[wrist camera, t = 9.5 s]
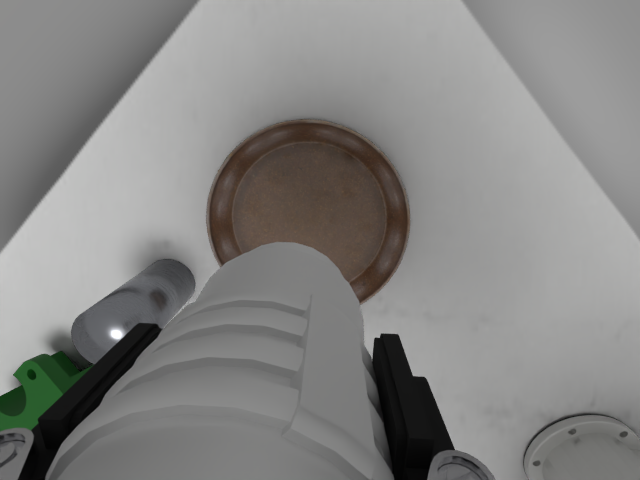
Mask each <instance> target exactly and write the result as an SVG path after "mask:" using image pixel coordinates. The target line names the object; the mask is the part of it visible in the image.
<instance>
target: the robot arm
mask: <svg viewBox="0 0 640 480" xmlns="http://www.w3.org/2000/svg"><path fill="white" fill-rule="evenodd" d="M161 331H162V328H159V325H158V324H156V323H138V324H137V325H135V326H134V327H133V328H132V329H131V330H130V331H129V332H128V333H127V334H126V335H125V336H124V337H123V338H122V339H121V340H120V341H119V342H118V343H117V344H115V345H114V346H113V347H112V348H111V349H110V350H109V351H108V352H107V353H106V354H105V355H104V356H103V357H102V358H101V359H100V360H99V361H98V362H97V363H96V364H95V365H93V366H92V367H91V368H90V369H89V370H88V371H87V372H86V373H85V374H84V375H83V376H82V377H81V378H80V379H79V380H78V381H77V382H76V383H75V384H74V385H73V386H71V387H70V388H69V389H68V390H67V391H66V392H65V393H64V394H63V395H62V396H61V397H60V398H59V399H58V400H57V401H56V402H55V403H54V404H53V405H52V406H51V407H49V408H48V409H47V410H46V411H45V412H44V413H43V414H42V415H41V416H40V417H39V418H38V424H37V425H36V426H35V427H34V428H33V429H32V430H28V429H26V428H12V429H6V430H3V431H0V480H45V478H46V474H47V472H48V470H49V468H50V466H51V464H52V462H53V460H54V458H55V456H56V454H57V452H58V450H59V448H60V446H61V444H62V443H63V442H64V440H65V439H66V438H67V437H68V436H69V435H70V434H71V433H72V431H73V430H74V429H75V428H76V427H77V426H78V425H79V424H80V423H81V422H82V421H83V420H84V419H86V418H87V417H88V416H89V415H90V414H91V413H92V412H93V411H94V410H95V409H96V408H97V407H99V406H100V404H101V402H102V400H103V398H104V396H105V394H106V393H107V392H108V391H109V389H110V388H111V387H112V386H113V385H114V384H115V383H116V382H117V381H118V380H119V379H120V378H121V377H122V376H123V375H124V374H125V373H126V372H127V371H128V370H130V369H131V368H132V367H133V365H134V363H135V361H136V359H137V358H138V357H139V356H140V354H141V353H142V352H143V351H144V350H145V349H146V348H147V347H148V346H149V345H150V344H151V343H152V342H153V341H154V340H155V339H157V337H158V336H159V334H160V332H161ZM372 364H373V368H374V373H375V377H376V382H377V387H378V395H379V400H380V404H381V409H382V413H383V419H384V428H385V432H386V437H387V441H388V446H389V450H390V455H391V460H392V466H393V471H392V474H393V476H394V480H495V478H494V476H493V475H492V473H491V472H490V471H489V470H488V468H487V467H486V466H485V465H484V464H482V463H481V462H480V461H479V460H478V459H476V458H474V457H473V456H471V455H469V454H467V453H464V452H461V451H457V450H455V449H454V446H453V444H452V441H451V439H450V436H449V434H448V431H447V429H446V426H445V424H444V421H443V419H442V416H441V414H440V411H439V409H438V406H437V404H436V401H435V399H434V396H433V394H432V391H431V389H430V386H429V384H428V382H427V380H426V378H425V377H416V376H413V375H412V372H411V369H410V367H409V364H408V361H407V358H406V355H405V352H404V349H403V346H402V343H401V341H400V338H399V335H398V334H381V336H380V338H375V339H374V348H373V359H372ZM524 469H525V473H526V475H527V477H528V480H640V439H639V438H638V436H637V435H636V434H635V433H634V432H633V431H632V430H631V429H630V428H629V427H628V426H626V425H625V424H623V423H622V422H620V421H618V420H615V419H613V418H610V417H605V416H599V415H584V416H576V417H572V418H568V419H565V420H562V421H560V422H557V423H555V424H553V425H552V426H550V427H548V428H546V429H545V430H544V431H543V432H541V433H540V434H539V435H538V436H537V437H536V438H535V439H534V440H533V441H532V443H531V444H530V446H529V448H528V449H527V452H526V455H525V459H524Z"/></svg>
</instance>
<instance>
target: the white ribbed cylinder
mask: <svg viewBox="0 0 640 480" xmlns="http://www.w3.org/2000/svg"><path fill="white" fill-rule="evenodd" d="M392 471H393V466H392V460H391V455H390V450H389V446H388V441H387V437H386V432H385V428H384V419H383V413H382V409H381V404H380V400H379V395H378V387H377V382H376V377H375V373H374V368H373V364H372V359H371V356H370V354H369V353H368V351H367V349H366V347H365V346H364V323H363V317H362V312H361V308H360V303H359V300H358V299H357V297H356V295H355V293H354V291H353V289H352V288H351V286H350V284H349V283H348V282H347V281H346V280H345V279H344V277H343V275H342V274H341V272H340V270H339V268H338V267H337V266H336V265H335V264H334V263H333V262H332V261H331V260H330V259H329V258H328V257H327V256H325V255H324V254H322V253H320V252H319V251H317V250H315V249H314V248H312V247H308V246H305V245H302V244H298V243H292V242H275V243H270V244H266V245H261V246H259V247H257V248H255V249H253V250H251V251H249V252H247V253H244V254H242V255H240V256H238V257H236V258H234V259H232V260H230V261H228V262H226V263H225V264H224V265H223V266H222V267H221V268H220V269H219V270H218V271H217V272H216V273H214V274H213V275H212V276H211V277H210V279H209V280H208V282H207V284H206V285H205V287H204V288H203V290H202V291H201V293H200V295H199V296H198V298H197V299H196V301H195V302H193V303H191V304H189V305H187V306H186V307H185V308H184V309H183V310H182V311H181V312H180V313H179V314H178V315H176V316H175V317H174V318H173V319H172V320H171V321H170V322H169V323H168V324H167V325H166V326H165V327H164V328H163V329H162V331H161V332H160V334H159V336H158V337H157V339H155V340H154V341H153V342H152V343H151V344H150V345H149V346H148V347H147V348H146V349H145V350H144V351H143V352H142V353H141V354H140V356H139V357H138V358H137V359H136V361H135V363H134V365H133V367H132V368H131V369H130V370H128V371H127V372H126V373H125V374H124V375H123V376H122V377H121V378H120V379H119V380H118V381H117V382H116V383H115V384H114V385H113V386H112V387H111V388H110V389H109V391H108V392H107V393H106V394H105V396H104V398H103V400H102V402H101V404H100V406H99V407H97V408H96V409H95V410H94V411H93V412H92V413H91V414H90V415H89V416H88V417H87V418H86V419H84V420H83V421H82V422H81V423H80V424H79V425H78V426H77V427H76V428H75V429H74V430H73V431H72V433H71V434H70V435H69V436H68V437H67V438H66V439H65V440H64V442H63V443H62V444H61V446H60V448H59V450H58V452H57V454H56V456H55V458H54V460H53V462H52V464H51V466H50V468H49V470H48V472H47V474H46V478H45V480H394V476H393V474H392Z"/></svg>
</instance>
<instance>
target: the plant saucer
mask: <svg viewBox="0 0 640 480" xmlns="http://www.w3.org/2000/svg"><path fill="white" fill-rule="evenodd" d="M206 224H207V232H208V237H209V242H210V245H211V249H212V251H213V254H214V256H215V259H216V260H217V262H218V264H219V266H220V268H221V267H222V266H223V265H224V264H225V263H226V262H228V261H230V260H232V259H234V258H236V257H238V256H240V255H242V254H244V253H247V252H249V251H251V250H253V249H255V248H257V247H259V246H261V245H266V244H270V243H275V242H292V243H298V244H302V245H305V246H308V247H312V248H314V249H315V250H317V251H319V252H320V253H322V254H324V255H325V256H327V257H328V258H329V259H330V260H331V261H332V262H333V263H334V264H335V265H336V266H337V267H338V268H339V270H340V272H341V274H342V275H343V277H344V279H345V280H346V281H347V282H348V283H349V284H350V286H351V288H352V289H353V291H354V293H355V295H356V297H357V299H358V300H359V303H360V305H361V304H363V303H364V302H366V301H367V300H369V299H370V298H372V297H373V296H374V295H375V294H377V293H378V292H379V291H380V290H381V289H382V288H383V287H384V286H385V285H386V284H387V282H388V281H389V280H390V279H391V277H392V276H393V274H394V273H395V272H396V270H397V268H398V266H399V264H400V262H401V260H402V258H403V255H404V253H405V250H406V246H407V243H408V238H409V231H410V210H409V203H408V198H407V194H406V191H405V188H404V185H403V183H402V180H401V178H400V176H399V174H398V172H397V171H396V169H395V167H394V166H393V164H392V163H391V162H390V160H389V159H388V158H387V156H386V155H385V154H384V153H383V152H382V151H381V150H380V149H379V148H378V147H377V146H376V145H375V144H373V143H372V142H371V141H370V140H368V139H367V138H365V137H364V136H362V135H361V134H359V133H357V132H355V131H353V130H351V129H349V128H347V127H344V126H341V125H339V124H336V123H332V122H327V121H322V120H312V119H300V120H291V121H286V122H281V123H278V124H275V125H272V126H269V127H266V128H264V129H262V130H260V131H258V132H256V133H254V134H253V135H251V136H250V137H248V138H247V139H245V140H244V141H243V142H242V143H240V144H239V145H238V146H237V147H236V148H235V149H234V150H233V151H232V152H231V153H230V154H229V156H228V157H227V158H226V159H225V161H224V162H223V164H222V165H221V167H220V169H219V170H218V172H217V174H216V176H215V178H214V181H213V183H212V186H211V189H210V193H209V197H208V202H207V211H206Z"/></svg>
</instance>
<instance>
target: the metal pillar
mask: <svg viewBox="0 0 640 480" xmlns="http://www.w3.org/2000/svg"><path fill="white" fill-rule="evenodd" d="M194 290H195V280H194V277H193V275H192V273H191V271H190V270H189V269H188V268H187V267H186V266H185V265H184V264H182V263H180V262H178V261H175V260H171V259H163V260H159V261H157V262H155V263H154V264H152V265H151V266H149V267H148V268H146V269H145V270H143V271H142V272H141V273H139V274H138V275H136V276H135V277H133V278H132V279H131V280H129V281H128V282H126V283H125V284H123V285H122V286H121V287H119V288H118V289H116V290H115V291H113V292H112V293H110V294H109V295H108V296H106V297H105V298H103V299H102V300H100V301H99V302H98V303H96V304H95V305H93V306H92V307H90V308H89V309H88V310H86V311H85V312H83V313H82V314H80V315H79V316H78V317H77V318H76V319H75V321H74V323H73V325H72V330H71V335H72V340H73V343H74V345H75V347H76V349H77V350H78V352H79V353H80V354H81V355H82V356H83V357H84V358H85V359H86V360H88V361H89V362H91V363H93V364H96V363H97V362H98V361H99V360H100V359H101V358H102V357H103V356H104V355H105V354H106V353H107V352H108V351H109V350H110V349H111V348H112V347H113V346H114V345H115V344H117V343H118V342H119V341H120V340H121V339H122V338H123V337H124V336H125V335H126V334H127V333H128V332H129V331H130V330H131V329H132V328H133V327H134V326H135V325H137V324H138V323H156V324H158V325H159V328H162V329H163V328H164V327H165V326H166V324H167V323H168V322H169V321H170V320H171V319H172V318H173V317H174V315H175V314H176V313H177V312H178V311H179V310H180V309H181V308H182V306H183V305H184V304H185V303H186V302H187V301H188V300H189V299H190V298H191V296H192V295H193V293H194Z"/></svg>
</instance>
